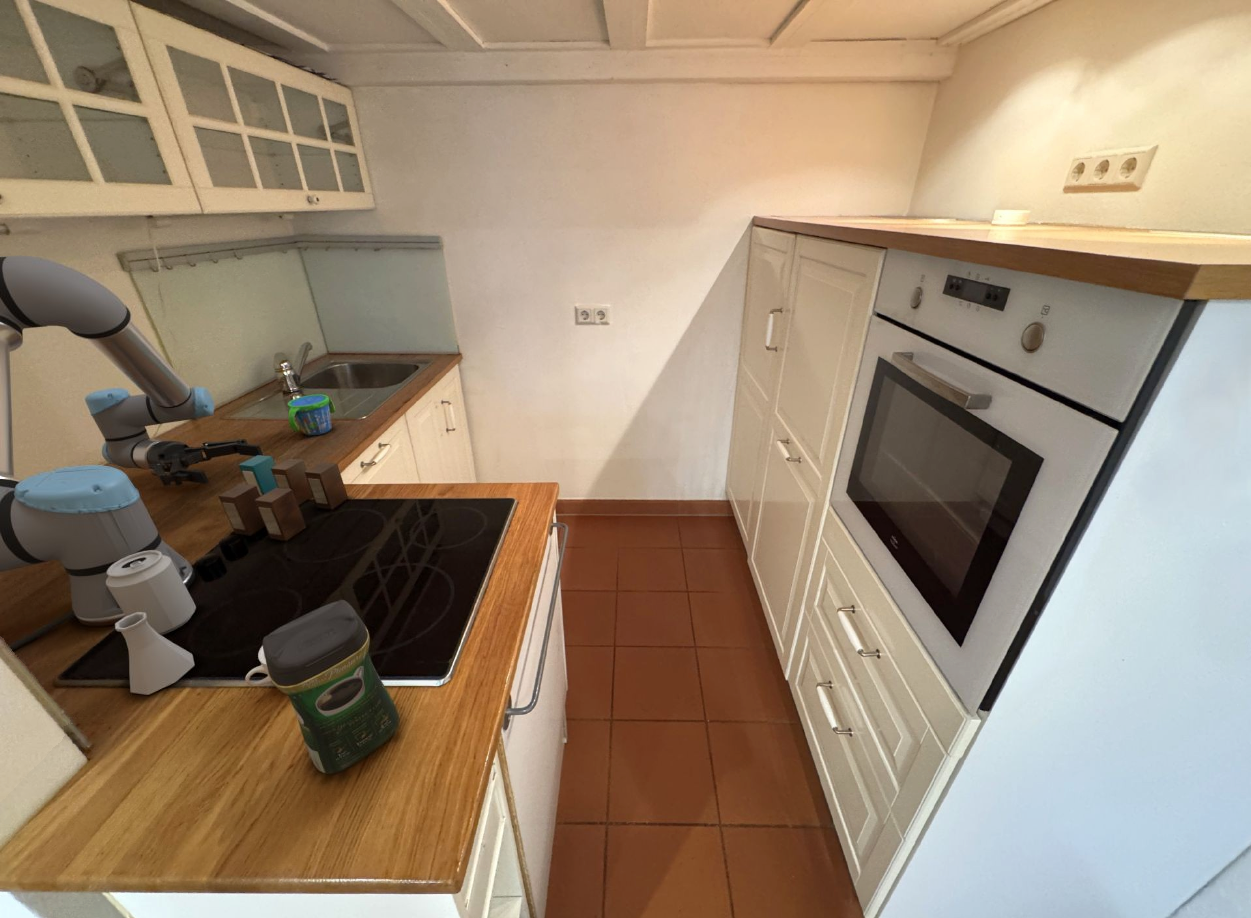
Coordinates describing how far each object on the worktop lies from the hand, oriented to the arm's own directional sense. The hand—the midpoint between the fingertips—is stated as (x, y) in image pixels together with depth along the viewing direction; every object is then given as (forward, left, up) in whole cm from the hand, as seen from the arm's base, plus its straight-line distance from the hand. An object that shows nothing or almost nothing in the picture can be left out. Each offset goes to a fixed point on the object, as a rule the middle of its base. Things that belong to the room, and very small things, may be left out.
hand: (234, 463), depth 114 cm
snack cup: (+35, +12, -8) cm, 38 cm away
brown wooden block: (-12, -25, -8) cm, 28 cm away
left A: (-12, -16, -8) cm, 21 cm away
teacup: (-41, -56, -8) cm, 70 cm away
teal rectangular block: (0, -7, -8) cm, 10 cm away
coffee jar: (-47, -71, -8) cm, 85 cm away
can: (-37, -27, -8) cm, 46 cm away
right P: (0, -25, -8) cm, 26 cm away
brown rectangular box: (0, -16, -8) cm, 17 cm away
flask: (-45, -37, -8) cm, 59 cm away
